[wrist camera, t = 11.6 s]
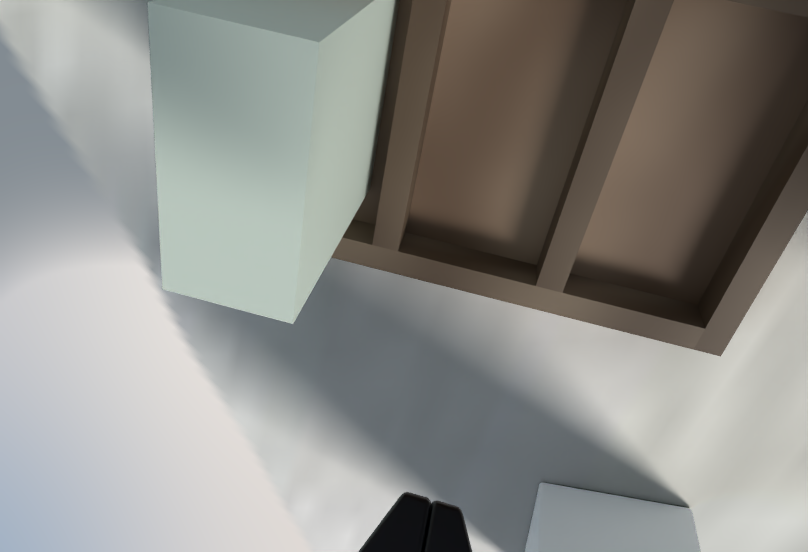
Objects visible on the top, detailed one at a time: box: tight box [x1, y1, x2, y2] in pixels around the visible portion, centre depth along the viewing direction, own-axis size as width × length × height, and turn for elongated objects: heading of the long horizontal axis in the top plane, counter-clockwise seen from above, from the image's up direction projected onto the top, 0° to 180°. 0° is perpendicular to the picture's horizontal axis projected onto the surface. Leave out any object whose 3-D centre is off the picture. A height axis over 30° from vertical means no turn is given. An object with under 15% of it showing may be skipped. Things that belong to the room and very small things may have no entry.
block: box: [147, 0, 399, 324], centre depth 15 cm, size 3×6×7 cm, turn 170°
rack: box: [331, 0, 808, 356], centre depth 17 cm, size 16×11×4 cm, turn 80°
